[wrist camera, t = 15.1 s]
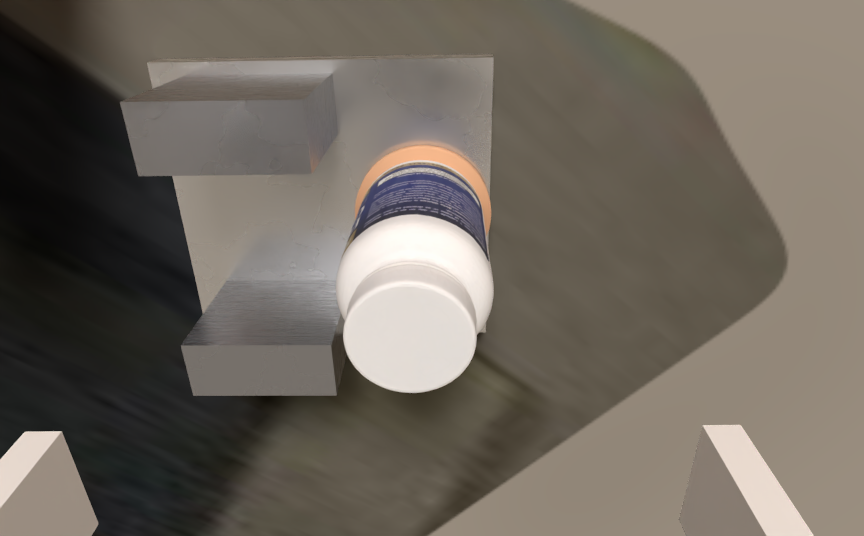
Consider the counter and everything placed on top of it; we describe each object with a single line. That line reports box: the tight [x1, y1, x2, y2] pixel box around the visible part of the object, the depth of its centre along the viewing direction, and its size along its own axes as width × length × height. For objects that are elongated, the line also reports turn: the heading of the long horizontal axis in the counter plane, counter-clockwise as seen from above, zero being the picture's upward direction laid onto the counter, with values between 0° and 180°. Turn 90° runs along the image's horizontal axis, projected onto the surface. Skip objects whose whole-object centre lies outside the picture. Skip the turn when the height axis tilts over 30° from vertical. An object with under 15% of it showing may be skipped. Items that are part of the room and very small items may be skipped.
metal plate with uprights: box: [120, 54, 494, 396], centre depth 25 cm, size 14×13×7 cm
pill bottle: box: [336, 160, 494, 393], centre depth 22 cm, size 5×5×10 cm
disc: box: [355, 145, 491, 236], centre depth 26 cm, size 6×6×1 cm
